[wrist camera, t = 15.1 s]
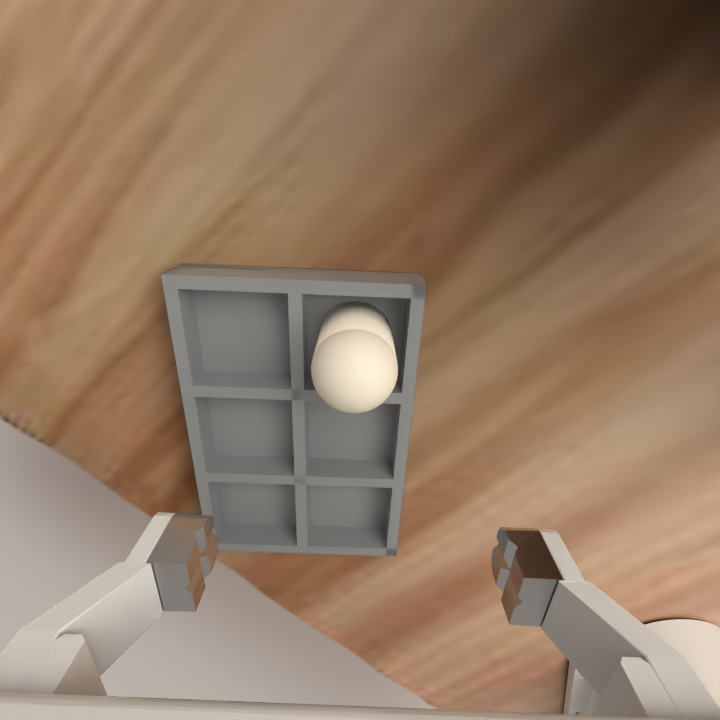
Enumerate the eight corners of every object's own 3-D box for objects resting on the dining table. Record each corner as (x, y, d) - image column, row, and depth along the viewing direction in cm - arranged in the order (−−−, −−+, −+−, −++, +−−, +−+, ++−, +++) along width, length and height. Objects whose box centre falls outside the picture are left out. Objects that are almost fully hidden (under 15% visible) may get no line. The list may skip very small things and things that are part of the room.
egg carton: (393, 525, 34) (395, 556, 31) (220, 520, 34) (208, 550, 31) (419, 273, 25) (426, 285, 22) (182, 263, 25) (160, 274, 22)
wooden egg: (388, 368, 27) (397, 432, 20) (320, 365, 27) (306, 429, 20) (394, 302, 25) (405, 348, 18) (320, 299, 25) (304, 345, 18)
